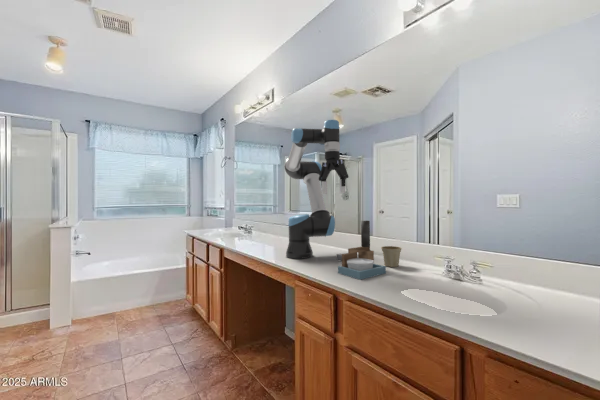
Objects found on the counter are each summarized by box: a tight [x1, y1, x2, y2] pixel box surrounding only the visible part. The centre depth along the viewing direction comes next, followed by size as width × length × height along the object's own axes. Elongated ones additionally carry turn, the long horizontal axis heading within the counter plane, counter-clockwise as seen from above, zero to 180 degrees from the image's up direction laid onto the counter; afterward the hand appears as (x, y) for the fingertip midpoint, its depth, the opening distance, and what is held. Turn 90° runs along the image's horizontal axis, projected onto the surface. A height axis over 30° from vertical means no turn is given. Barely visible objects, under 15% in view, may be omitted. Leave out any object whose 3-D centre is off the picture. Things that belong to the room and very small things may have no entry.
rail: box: [336, 253, 358, 262], centre depth 145 cm, size 19×3×3 cm, turn 34°
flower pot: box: [380, 245, 403, 268], centre depth 137 cm, size 9×9×9 cm
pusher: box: [341, 220, 375, 268], centre depth 134 cm, size 6×16×21 cm, turn 124°
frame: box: [337, 263, 387, 280], centre depth 125 cm, size 13×16×3 cm
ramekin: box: [347, 258, 375, 271], centre depth 126 cm, size 11×11×5 cm
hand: (333, 193), depth 147 cm, fingers open, 13 cm apart
